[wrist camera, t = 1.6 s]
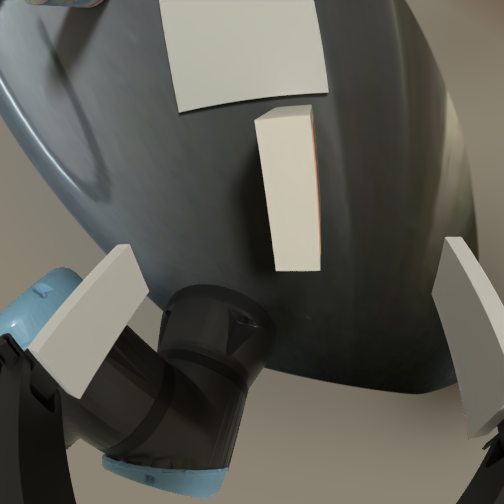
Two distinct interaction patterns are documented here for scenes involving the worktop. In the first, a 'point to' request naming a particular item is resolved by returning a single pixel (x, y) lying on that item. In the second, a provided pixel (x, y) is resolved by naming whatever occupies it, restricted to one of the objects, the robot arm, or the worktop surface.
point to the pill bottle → (66, 3)
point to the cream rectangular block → (291, 186)
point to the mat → (242, 50)
